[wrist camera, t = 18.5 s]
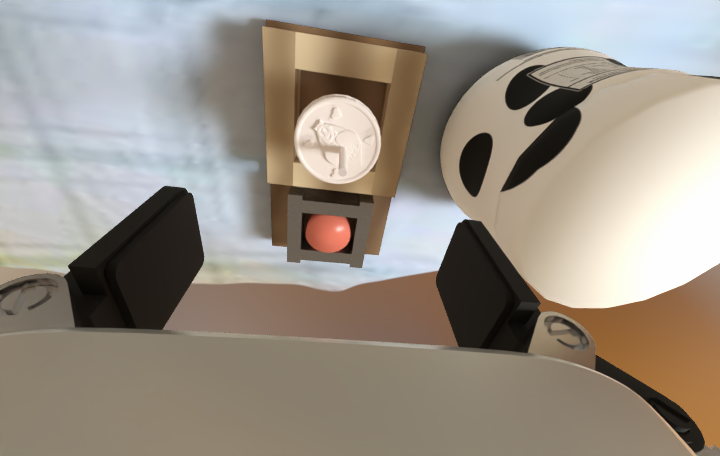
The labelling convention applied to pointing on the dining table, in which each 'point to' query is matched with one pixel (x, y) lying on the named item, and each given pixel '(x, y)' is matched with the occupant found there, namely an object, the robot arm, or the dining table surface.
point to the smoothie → (337, 139)
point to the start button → (328, 232)
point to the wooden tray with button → (326, 77)
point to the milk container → (591, 173)
